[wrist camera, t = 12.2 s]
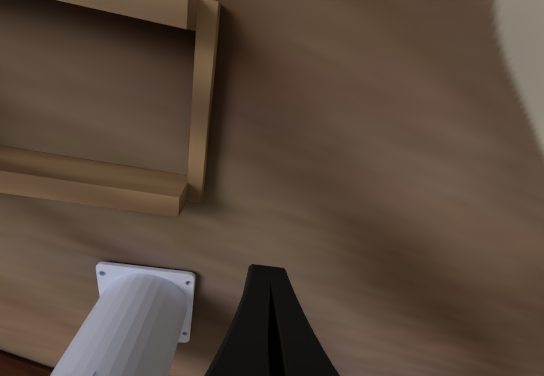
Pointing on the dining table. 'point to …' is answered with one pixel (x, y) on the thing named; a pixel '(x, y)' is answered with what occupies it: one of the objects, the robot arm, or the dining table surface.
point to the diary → (21, 367)
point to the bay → (118, 178)
